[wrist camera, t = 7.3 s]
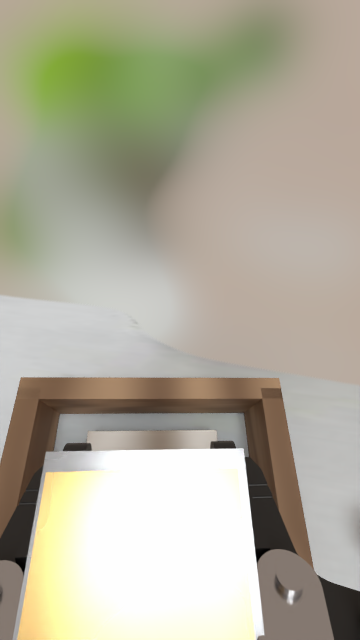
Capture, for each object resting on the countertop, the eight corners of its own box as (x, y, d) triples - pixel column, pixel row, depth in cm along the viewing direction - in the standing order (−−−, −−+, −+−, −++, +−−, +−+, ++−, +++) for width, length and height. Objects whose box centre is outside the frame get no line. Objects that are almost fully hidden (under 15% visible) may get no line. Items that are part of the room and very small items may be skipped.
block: (101, 580, 12) (-59, 854, 3) (110, 469, 14) (26, 446, 5) (200, 576, 12) (308, 819, 3) (196, 467, 14) (257, 443, 5)
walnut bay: (-6, 648, 18) (-58, 703, 14) (44, 395, 25) (20, 377, 21) (292, 630, 19) (332, 674, 15) (258, 395, 27) (278, 378, 22)
